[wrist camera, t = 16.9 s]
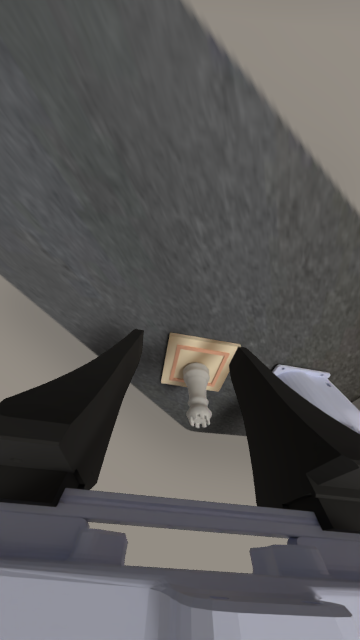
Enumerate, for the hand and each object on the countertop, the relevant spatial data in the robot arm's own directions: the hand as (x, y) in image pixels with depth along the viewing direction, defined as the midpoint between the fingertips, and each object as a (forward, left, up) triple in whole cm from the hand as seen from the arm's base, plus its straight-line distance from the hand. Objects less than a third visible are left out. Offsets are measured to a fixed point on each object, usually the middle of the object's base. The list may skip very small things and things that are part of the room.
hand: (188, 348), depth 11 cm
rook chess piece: (-4, +12, -9) cm, 15 cm away
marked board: (-4, +11, -9) cm, 15 cm away
